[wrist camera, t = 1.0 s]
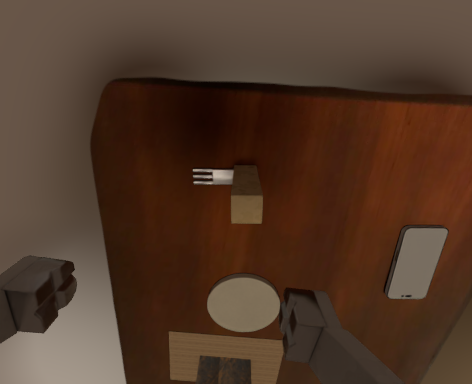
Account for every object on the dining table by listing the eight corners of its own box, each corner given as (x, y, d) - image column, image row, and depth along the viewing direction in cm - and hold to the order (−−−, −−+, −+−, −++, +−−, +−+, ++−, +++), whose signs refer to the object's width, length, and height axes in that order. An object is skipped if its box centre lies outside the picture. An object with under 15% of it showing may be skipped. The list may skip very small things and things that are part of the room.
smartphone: (450, 227, 38) (425, 299, 44) (445, 224, 39) (421, 294, 45) (405, 227, 38) (385, 299, 44) (400, 224, 40) (382, 294, 45)
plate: (206, 272, 44) (205, 277, 43) (281, 273, 44) (282, 278, 42) (209, 326, 49) (208, 331, 48) (276, 327, 49) (277, 332, 48)
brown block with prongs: (256, 165, 36) (263, 195, 25) (255, 186, 37) (261, 223, 26) (193, 165, 36) (171, 195, 25) (194, 185, 37) (174, 223, 26)
